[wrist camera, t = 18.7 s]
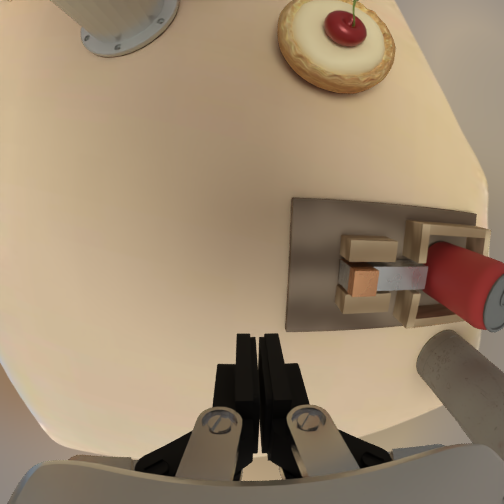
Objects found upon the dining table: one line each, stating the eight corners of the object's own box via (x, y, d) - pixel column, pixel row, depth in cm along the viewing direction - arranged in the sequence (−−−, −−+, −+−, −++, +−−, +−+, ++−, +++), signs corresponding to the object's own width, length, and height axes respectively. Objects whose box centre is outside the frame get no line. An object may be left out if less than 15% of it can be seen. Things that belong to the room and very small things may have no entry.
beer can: (462, 251, 28) (531, 278, 17) (442, 300, 30) (503, 342, 18) (428, 232, 28) (501, 256, 16) (406, 286, 29) (470, 331, 18)
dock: (291, 197, 28) (299, 199, 24) (471, 213, 28) (494, 217, 24) (285, 327, 31) (290, 348, 27) (454, 316, 31) (473, 329, 27)
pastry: (266, 85, 26) (269, 49, 18) (283, 3, 23) (289, -42, 15) (376, 113, 26) (415, 92, 18) (382, 30, 24) (413, -5, 15)
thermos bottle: (448, 373, 34) (546, 490, 6) (409, 380, 34) (506, 525, 6) (465, 327, 32) (590, 437, 5) (426, 331, 32) (561, 472, 4)
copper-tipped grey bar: (340, 258, 28) (355, 271, 24) (414, 259, 28) (435, 270, 24) (338, 281, 29) (351, 297, 24) (411, 280, 29) (431, 293, 25)
